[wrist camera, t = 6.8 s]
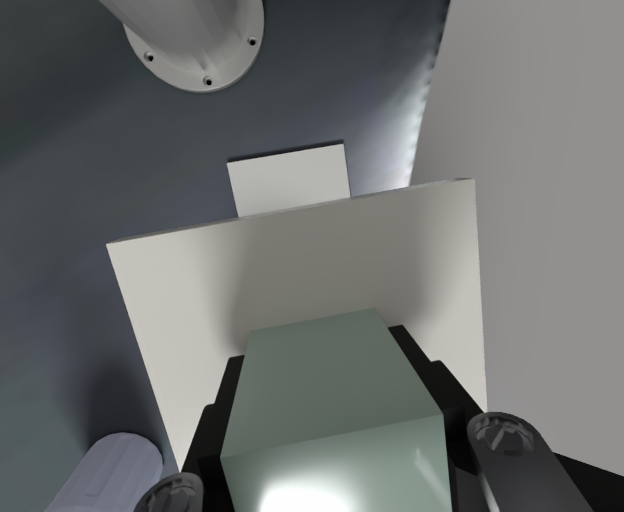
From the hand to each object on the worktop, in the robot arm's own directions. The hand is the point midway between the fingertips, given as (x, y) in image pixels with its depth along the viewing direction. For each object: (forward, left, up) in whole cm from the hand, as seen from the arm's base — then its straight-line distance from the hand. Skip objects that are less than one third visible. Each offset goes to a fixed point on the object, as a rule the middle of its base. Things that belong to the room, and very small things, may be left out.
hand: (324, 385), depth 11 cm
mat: (-1, 0, -27) cm, 27 cm away
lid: (0, 0, -2) cm, 2 cm away
